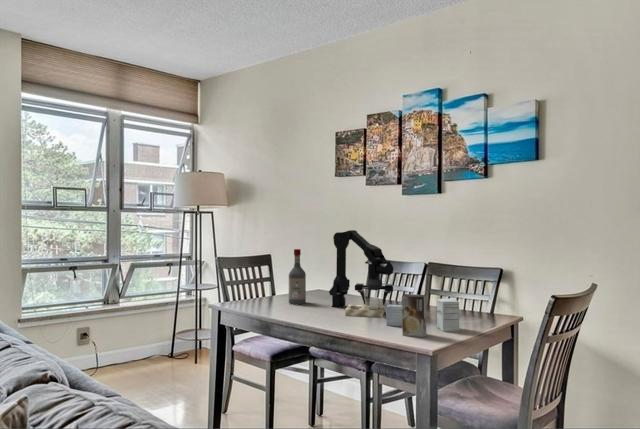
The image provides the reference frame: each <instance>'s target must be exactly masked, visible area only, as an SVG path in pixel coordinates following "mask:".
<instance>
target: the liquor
mask: <svg viewBox="0 0 640 429" xmlns="http://www.w3.org/2000/svg"><path fill="white" fill-rule="evenodd" d="M293 255H294V264H293V267H292V268H291V270H290V272H289V274H288V304H289V303H290V304H289V305H292V304H302V305H305V304H306V300H307V299H306V298H307V297H306V296H307V295H306V294H307V293H306V292H307V289H306V288H307V287H306V286H307V285H306V284H307V283H306V282H307V281H306V277H307V273H306V271H305V270H304V269H303V268H302V266H301V255H302V254H301V249H300V248H297V249H296V248H294V249H293Z"/></svg>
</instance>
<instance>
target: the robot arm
mask: <svg viewBox="0 0 640 429" xmlns="http://www.w3.org/2000/svg"><path fill="white" fill-rule="evenodd" d="M332 240H333V244H334V246H335V248H336V270H335V272H336V276H335V277H334V279H333V283H332V286H331V287H330V289H329V290H328V292H329V295H330V296H331V297H332V298H331V300H332V301H331V303H332V304H331V308H332V307H333V308H344V307H345V306H346V304H347V303H346V302H347V301H346V300H347V299H346V297H345V296H346V295H348V292H349V289H350V287H351V286H350V284H351V283H350V281H351V280H350V279H348V278H347V273H346V272H347V270H346V269H347V248H348V247H349V244H350V241H352V242H353V243H354V244H355V245H357V247H359V248H360V249H361V250H362V251H363V255H364V256H365V257H366V259H367V260H366V261H364V264H367V265H368V266H367V270H368V271H367V272H368V274H367V276H368V277H367V278H368V280H367V284H364V283H358V282H357V283H356V284H355V285H354V291H357V293H359V294H360V296H361V298H362V301H363V305H366V293H365V290H368V291H378V290H384V292H383V301H382V306H385V303H386V300H387V297H388V295H389V294H391V292H394V285H393V284H390V283H389V284H388V283H385V285H383V280H382V279H381V278H380V277H381V275H386V276H391V275H392V274H393V272H394V265H393V264H392V263H391V260H387V259H386V257H385V255H384V254H383V250H382V249H381V248H380V247H378V246H377V245H373V244H371V243H370V242H369V241H368V240H366V238H364V237H363V236H362V235H361V234H359V233H358V231H357V230H355V229H351V230H350V229H349V230H347V231H343V232H342V231H341V232H339V231H338V232H335V233H334V234H333V239H332Z"/></svg>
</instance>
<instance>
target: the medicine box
mask: <svg viewBox="0 0 640 429" xmlns="http://www.w3.org/2000/svg"><path fill="white" fill-rule="evenodd" d="M385 313H386V317H385V319H386V322H385V323H386V326H387V327H388V326H389V327H390V326H391V327H402V304H400V305H399V304H388V305H387V306H386V310H385Z"/></svg>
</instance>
